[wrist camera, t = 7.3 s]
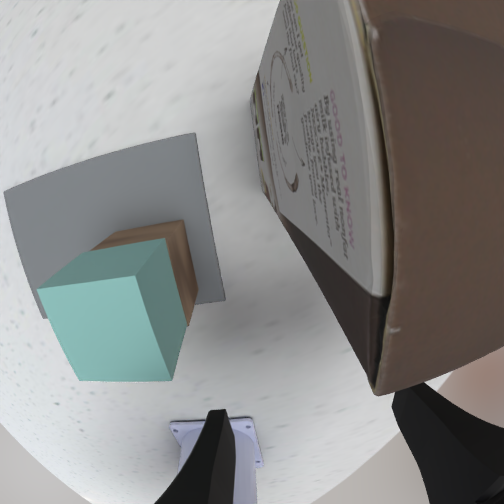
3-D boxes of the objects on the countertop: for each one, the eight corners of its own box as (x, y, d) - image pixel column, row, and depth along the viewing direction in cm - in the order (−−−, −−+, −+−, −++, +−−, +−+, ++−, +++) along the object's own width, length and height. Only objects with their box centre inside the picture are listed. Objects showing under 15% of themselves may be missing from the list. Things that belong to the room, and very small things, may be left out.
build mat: (225, 298, 20) (225, 300, 20) (44, 317, 21) (43, 318, 20) (195, 133, 17) (194, 132, 17) (5, 191, 17) (3, 191, 17)
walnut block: (198, 289, 20) (188, 326, 16) (133, 297, 20) (111, 332, 16) (183, 219, 18) (166, 240, 14) (114, 231, 18) (84, 255, 14)
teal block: (187, 323, 16) (172, 380, 11) (109, 330, 16) (79, 380, 11) (165, 237, 14) (135, 275, 10) (82, 252, 14) (36, 289, 10)
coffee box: (262, 198, 18) (351, 416, 3) (248, 95, 16) (287, -121, 1) (396, 184, 18) (615, 279, 3) (387, 91, 16) (611, 51, 1)
